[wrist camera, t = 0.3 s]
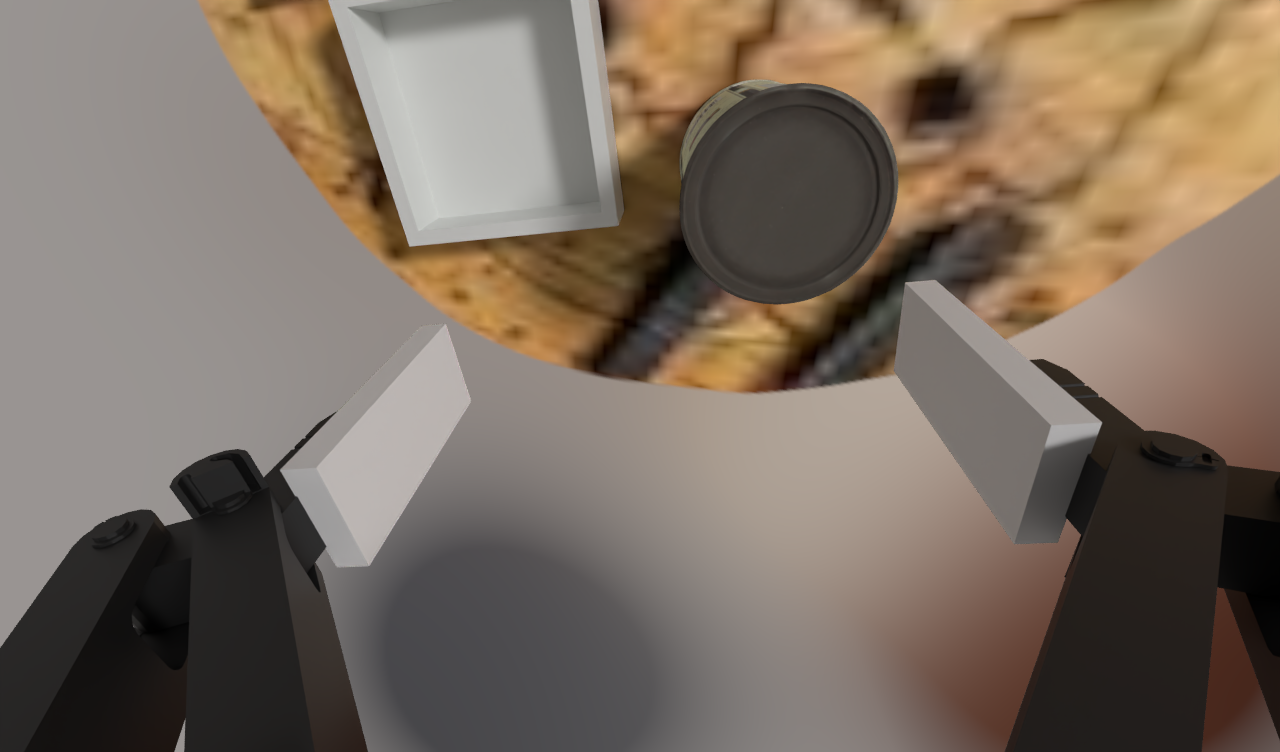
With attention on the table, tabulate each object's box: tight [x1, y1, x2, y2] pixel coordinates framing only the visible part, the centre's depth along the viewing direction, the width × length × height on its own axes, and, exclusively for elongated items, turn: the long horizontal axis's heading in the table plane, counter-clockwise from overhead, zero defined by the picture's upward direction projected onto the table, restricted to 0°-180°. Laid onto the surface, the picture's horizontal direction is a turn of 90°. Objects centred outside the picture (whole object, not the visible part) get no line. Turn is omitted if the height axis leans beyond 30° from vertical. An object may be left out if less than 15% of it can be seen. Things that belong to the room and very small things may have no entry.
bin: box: [328, 0, 624, 247], centre depth 35 cm, size 15×15×4 cm
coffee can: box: [680, 79, 898, 304], centre depth 32 cm, size 10×10×14 cm
